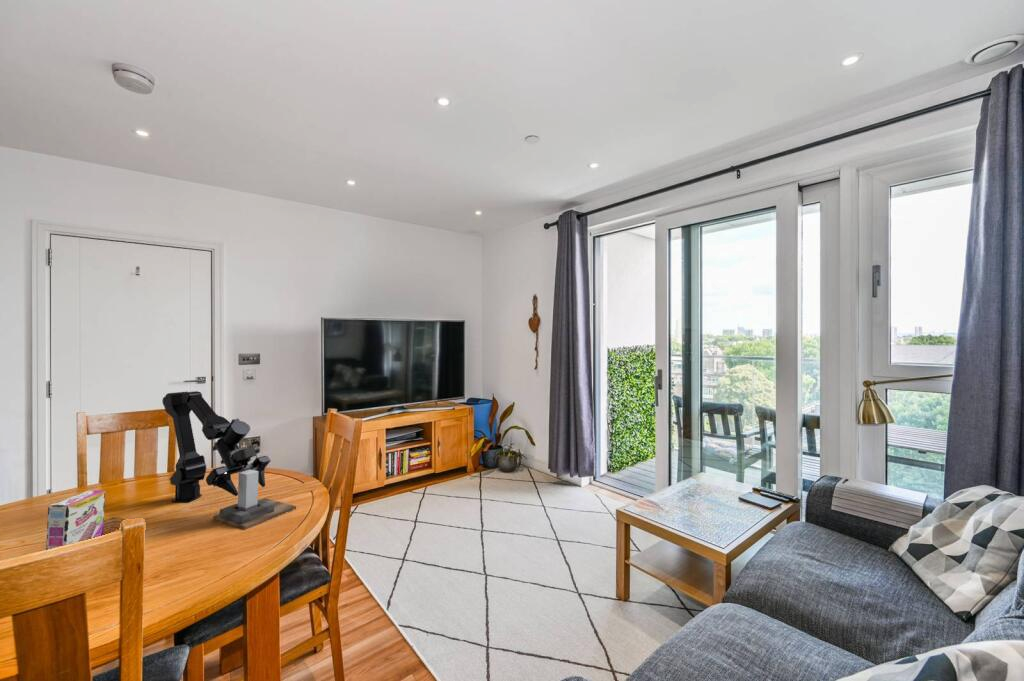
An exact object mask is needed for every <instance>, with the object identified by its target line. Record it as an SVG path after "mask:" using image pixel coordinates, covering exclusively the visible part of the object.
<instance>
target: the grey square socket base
mask: <svg viewBox="0 0 1024 681" xmlns="http://www.w3.org/2000/svg"><path fill="white" fill-rule="evenodd" d="M295 508H296V509H297V505H293V504H290V503H285V502H281V501H279V500H274V499H271V498H267V497H264V498H261V499H258V505H257V507H256V508H254V509H251V510H248V511H245V512H244V511H241V510H238V502H237V503H234V504H232V505H230V506H227V507H223V508H220V509H219V514H215V515H213V516H212V517H213V518H214V519H216V520H215V521H217V520H219V521H218V522H220V521H222V522H221V523H224V522H225V523H224V524H227V523H228V525H231V526H234V527H236V528H239V529H243V530H249V529H250V528H253V527H255V526H257V525H260V524H263V523H265V522H267V520H268V521H270V520H273V519H275V518H278V517H280V516H282V515H281V514H283V515H285V514H287V513H286V512H288V513H290V512H292V511H294V510H293V509H295ZM296 509H295V510H296ZM291 510H292V511H291ZM289 511H290V512H289ZM284 513H285V514H284ZM279 515H280V516H279ZM277 516H278V517H277ZM274 517H275V518H274ZM213 518H212V519H213ZM272 518H273V519H272ZM214 519H213V520H214Z"/></svg>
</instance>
